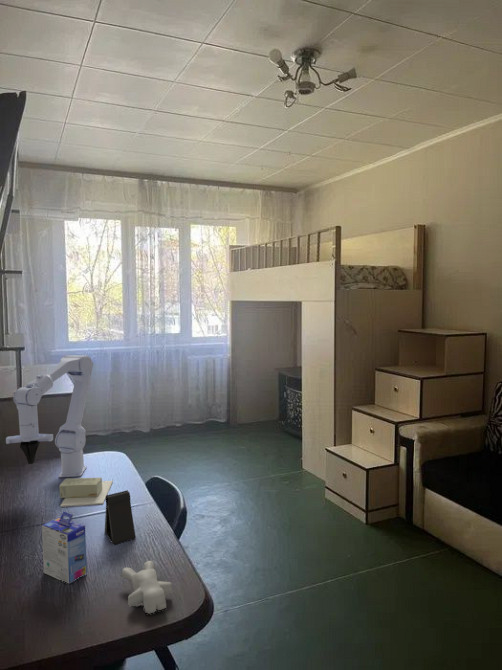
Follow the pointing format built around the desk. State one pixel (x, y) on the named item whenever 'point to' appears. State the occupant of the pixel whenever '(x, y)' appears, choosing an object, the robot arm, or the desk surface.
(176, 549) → the desk surface
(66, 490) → the skincare box
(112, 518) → the phone stand
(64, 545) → the ink cartridge box
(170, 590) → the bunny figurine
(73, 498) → the mat
